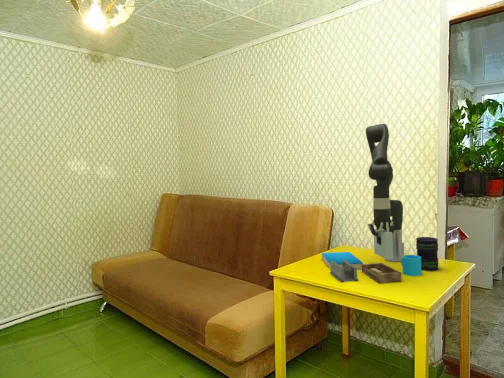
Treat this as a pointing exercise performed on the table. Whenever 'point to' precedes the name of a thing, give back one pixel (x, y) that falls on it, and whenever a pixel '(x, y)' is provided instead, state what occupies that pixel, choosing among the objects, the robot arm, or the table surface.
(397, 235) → the robot arm
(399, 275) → the brown wooden tray
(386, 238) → the blue-grey panel
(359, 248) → the table surface
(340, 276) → the charcoal stand
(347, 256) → the book
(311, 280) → the table surface
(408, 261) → the mug
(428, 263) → the storage jar
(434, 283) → the table surface
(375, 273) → the birch offcut
